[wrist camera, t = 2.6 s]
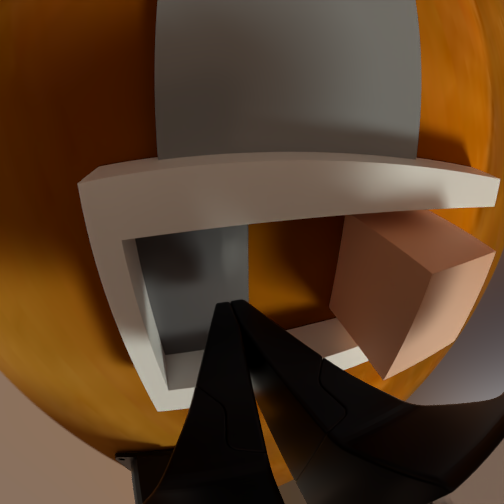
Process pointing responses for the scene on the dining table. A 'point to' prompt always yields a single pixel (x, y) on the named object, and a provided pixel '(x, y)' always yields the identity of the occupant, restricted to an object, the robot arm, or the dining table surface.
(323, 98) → the coaster
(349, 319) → the block
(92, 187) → the channel
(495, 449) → the robot arm
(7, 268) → the dining table surface
